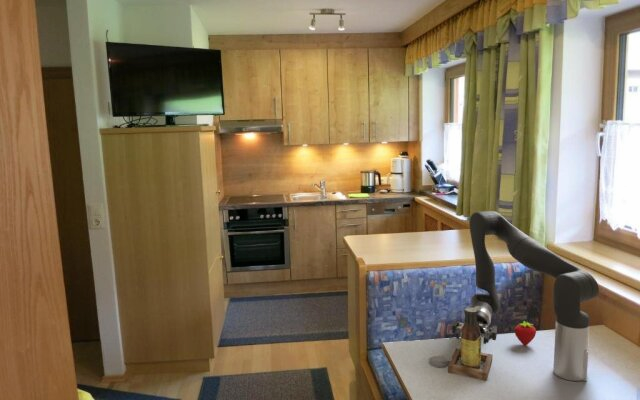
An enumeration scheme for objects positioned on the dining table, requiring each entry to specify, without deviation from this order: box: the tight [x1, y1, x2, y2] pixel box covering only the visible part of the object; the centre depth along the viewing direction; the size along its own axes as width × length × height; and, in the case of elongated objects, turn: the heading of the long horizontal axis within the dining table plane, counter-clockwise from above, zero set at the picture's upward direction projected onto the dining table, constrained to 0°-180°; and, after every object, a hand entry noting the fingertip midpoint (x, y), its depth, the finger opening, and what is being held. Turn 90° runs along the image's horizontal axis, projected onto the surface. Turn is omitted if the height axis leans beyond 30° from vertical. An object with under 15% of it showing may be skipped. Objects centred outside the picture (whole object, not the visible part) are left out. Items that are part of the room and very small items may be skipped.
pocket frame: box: [447, 347, 493, 381], centre depth 154 cm, size 12×13×2 cm
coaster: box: [428, 355, 451, 369], centre depth 158 cm, size 7×7×1 cm
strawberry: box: [514, 318, 537, 346], centre depth 167 cm, size 6×8×10 cm
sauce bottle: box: [460, 307, 482, 370], centre depth 153 cm, size 6×6×20 cm
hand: (470, 338), depth 153 cm, fingers open, 8 cm apart
